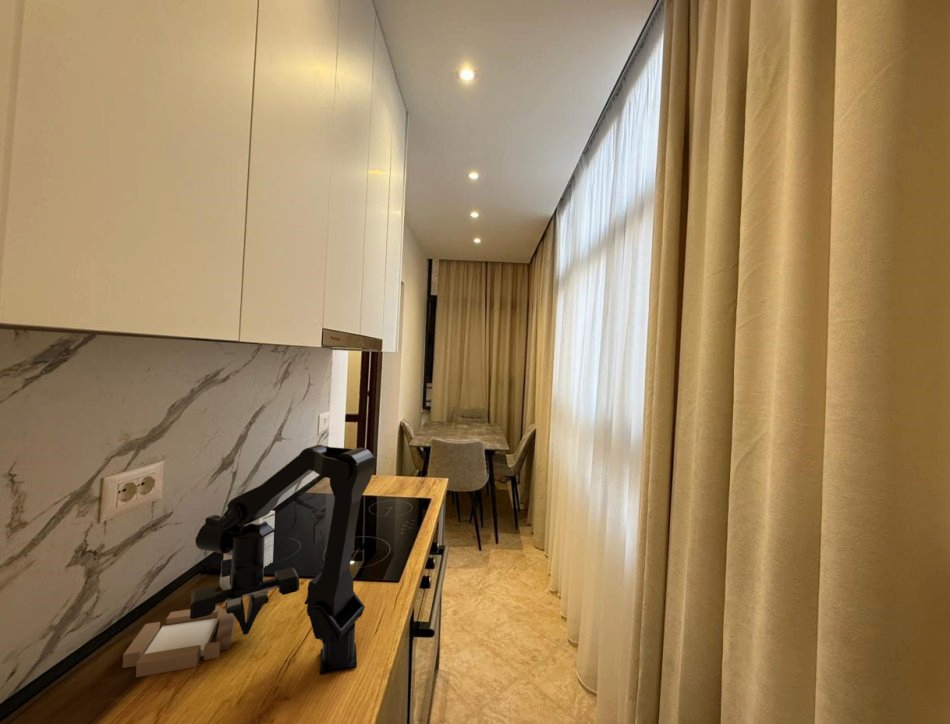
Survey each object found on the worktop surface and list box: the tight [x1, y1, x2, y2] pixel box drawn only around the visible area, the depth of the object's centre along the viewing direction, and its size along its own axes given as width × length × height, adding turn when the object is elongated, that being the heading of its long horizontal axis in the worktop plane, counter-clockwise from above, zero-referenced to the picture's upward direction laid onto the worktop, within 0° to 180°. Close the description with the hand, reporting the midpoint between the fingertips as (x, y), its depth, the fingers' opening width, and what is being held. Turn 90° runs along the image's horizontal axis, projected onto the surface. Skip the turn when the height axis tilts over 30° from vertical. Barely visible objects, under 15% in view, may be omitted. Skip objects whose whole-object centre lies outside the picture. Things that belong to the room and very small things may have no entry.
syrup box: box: [251, 510, 276, 568], centre depth 110 cm, size 6×6×14 cm
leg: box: [215, 605, 236, 651], centre depth 83 cm, size 12×2×3 cm, turn 26°
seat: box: [122, 604, 221, 678], centre depth 79 cm, size 15×15×2 cm
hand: (245, 633), depth 82 cm, fingers closed
